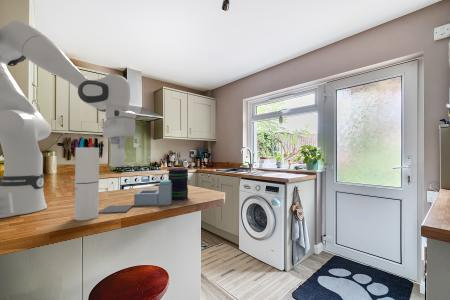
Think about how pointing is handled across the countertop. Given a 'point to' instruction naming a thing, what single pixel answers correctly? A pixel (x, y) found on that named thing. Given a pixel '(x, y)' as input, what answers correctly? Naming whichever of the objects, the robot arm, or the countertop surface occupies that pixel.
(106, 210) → the rubber mat
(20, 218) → the countertop surface
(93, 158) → the cylindrical container
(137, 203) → the filter housing
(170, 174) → the storage jar
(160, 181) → the plunger
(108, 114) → the robot arm
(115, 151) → the filter cartridge
